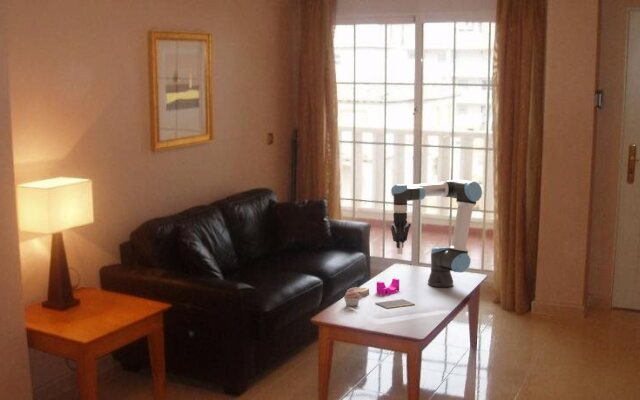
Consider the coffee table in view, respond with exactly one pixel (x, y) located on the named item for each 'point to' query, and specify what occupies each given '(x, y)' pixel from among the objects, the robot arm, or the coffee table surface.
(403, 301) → the mat
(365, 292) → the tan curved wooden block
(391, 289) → the toy block
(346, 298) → the cupcake
